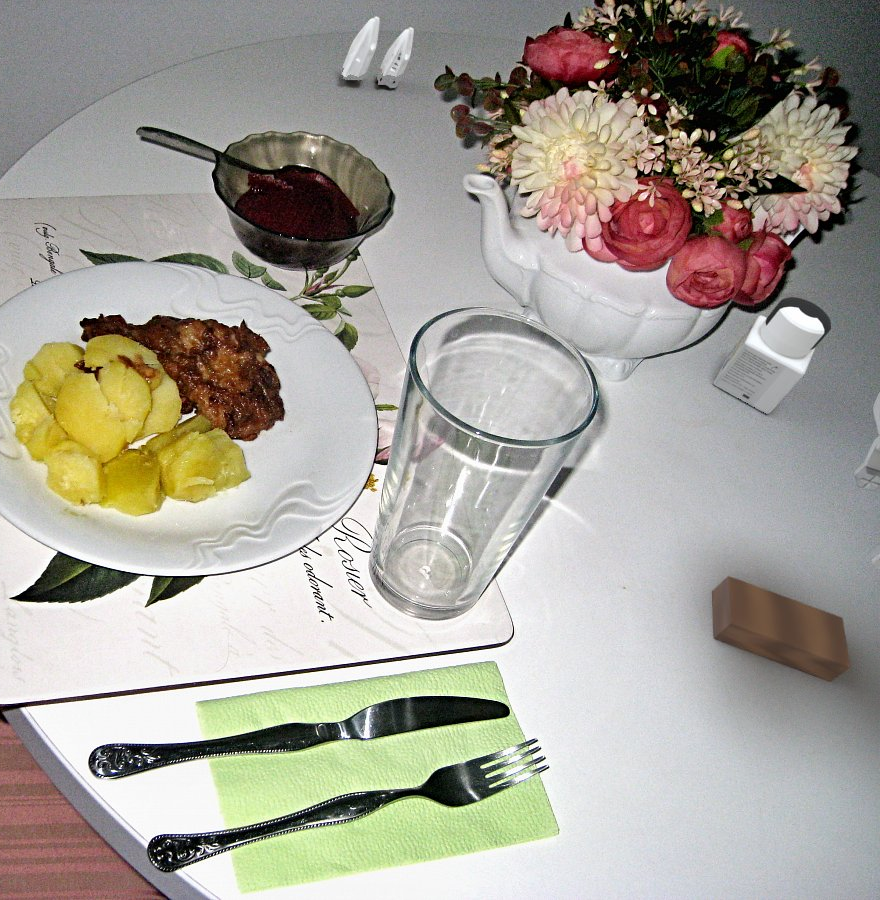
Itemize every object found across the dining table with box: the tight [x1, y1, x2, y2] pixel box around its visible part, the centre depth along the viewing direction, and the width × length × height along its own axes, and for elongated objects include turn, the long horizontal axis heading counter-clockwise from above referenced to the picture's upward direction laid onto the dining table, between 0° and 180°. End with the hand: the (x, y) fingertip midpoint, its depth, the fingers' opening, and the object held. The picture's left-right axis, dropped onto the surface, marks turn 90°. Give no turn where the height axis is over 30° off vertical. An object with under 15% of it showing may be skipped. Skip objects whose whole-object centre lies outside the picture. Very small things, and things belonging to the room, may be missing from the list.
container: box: [713, 296, 832, 415], centre depth 113 cm, size 8×8×13 cm
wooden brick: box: [711, 575, 851, 682], centre depth 90 cm, size 12×6×3 cm, turn 73°
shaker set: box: [340, 16, 415, 77], centre depth 148 cm, size 12×4×11 cm, turn 106°
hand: (870, 521), depth 77 cm, fingers open, 8 cm apart
